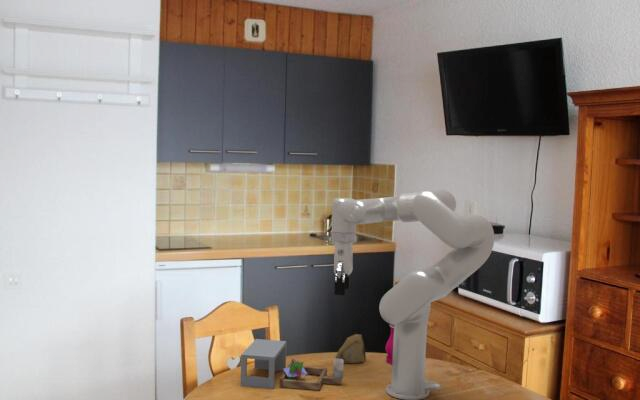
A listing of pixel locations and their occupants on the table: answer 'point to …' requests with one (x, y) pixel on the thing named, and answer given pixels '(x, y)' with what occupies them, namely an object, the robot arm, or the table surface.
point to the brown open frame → (316, 371)
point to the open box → (263, 362)
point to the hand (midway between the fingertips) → (341, 291)
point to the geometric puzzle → (295, 370)
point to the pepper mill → (390, 346)
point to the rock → (352, 350)
